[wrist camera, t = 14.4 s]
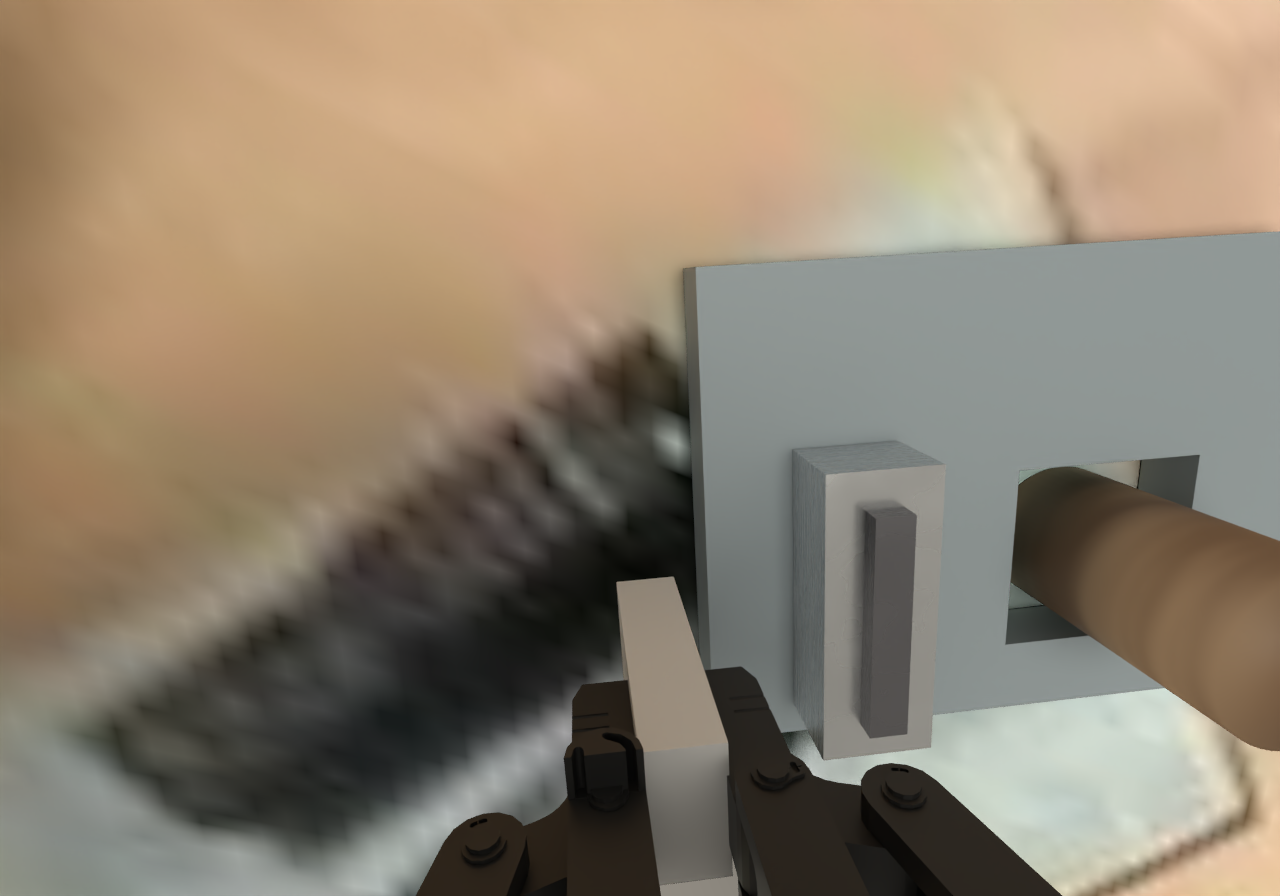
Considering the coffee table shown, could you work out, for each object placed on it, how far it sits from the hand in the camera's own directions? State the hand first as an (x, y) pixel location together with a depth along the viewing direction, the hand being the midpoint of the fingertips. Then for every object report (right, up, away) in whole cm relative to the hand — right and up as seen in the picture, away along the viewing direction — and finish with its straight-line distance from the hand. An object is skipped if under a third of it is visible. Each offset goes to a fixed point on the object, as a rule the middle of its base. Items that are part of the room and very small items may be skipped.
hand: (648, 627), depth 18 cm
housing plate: (+10, +4, +4) cm, 12 cm away
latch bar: (+6, +1, +2) cm, 6 cm away
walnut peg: (+14, +2, +5) cm, 14 cm away
